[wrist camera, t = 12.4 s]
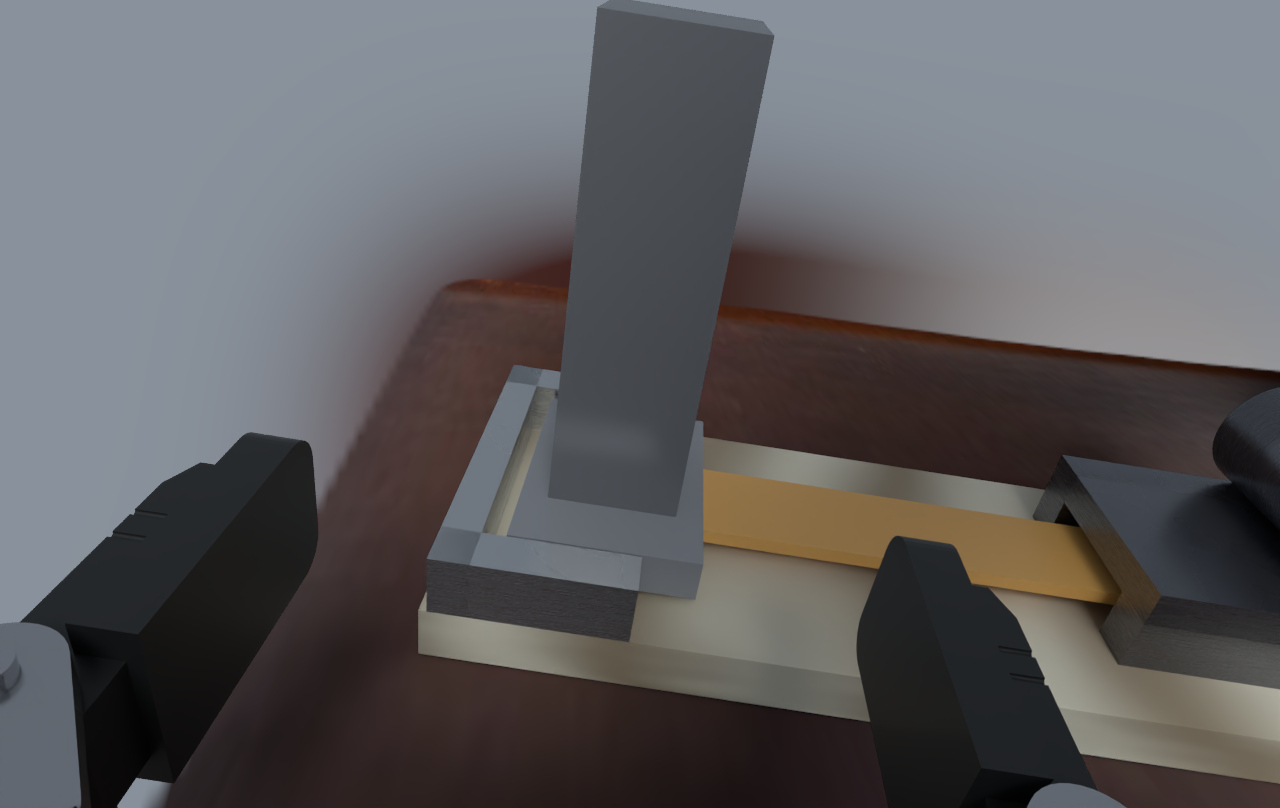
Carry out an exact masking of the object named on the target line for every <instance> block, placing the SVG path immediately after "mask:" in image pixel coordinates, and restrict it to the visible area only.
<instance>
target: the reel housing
mask: <svg viewBox="0 0 1280 808" xmlns="http://www.w3.org/2000/svg"><path fill="white" fill-rule="evenodd" d="M1213 458H1214V461H1215V464H1216V465H1217V467H1218V469H1219V470H1220V471H1221V472H1222V473H1223V474H1224V475H1225V476H1226V477H1227V478H1228V479H1229V480H1230V481H1227V480H1221V479H1215V478H1208V477H1202V476H1195V475H1189V474H1182V473H1176V472H1169V471H1163V470H1157V469H1150V468H1144V467H1137V466H1131V465H1124V464H1118V463H1111V462H1105V461H1099V460H1092V459H1086V458H1079V457H1073V456H1066V455H1062V456H1061V458H1060V460H1059V462H1058V464H1057V466H1056V469H1055V471H1054V473H1053V475H1052V477H1051V479H1050V481H1049V483H1048V485H1047V487H1046V489H1045V491H1044V493H1043V495H1042V497H1041V499H1040V501H1039V503H1038V506H1037V508H1036V510H1035V512H1034V514H1033V516H1032V517H1033V519H1034V520H1036V521H1043V522H1049V523H1056V524H1062V525H1069V526H1075V527H1081V529H1082V530H1083V532H1084V533H1085V535H1086V536H1087V538H1088V539H1089V541H1090V543H1091V544H1092V546H1093V547H1094V549H1095V550H1096V552H1097V553H1098V555H1099V556H1100V558H1101V559H1102V561H1103V562H1104V564H1105V566H1106V567H1107V569H1108V570H1109V572H1110V573H1111V575H1112V576H1113V578H1114V579H1115V581H1116V582H1117V584H1118V585H1119V587H1120V589H1121V590H1122V593H1121V595H1120V597H1119V598H1118V600H1117V602H1116V603H1115V605H1114V607H1113V608H1112V610H1111V612H1110V613H1109V615H1108V617H1107V619H1106V620H1105V622H1104V624H1103V625H1102V627H1101V629H1100V630H1099V632H1100V634H1101V636H1102V638H1103V639H1104V641H1105V643H1106V645H1107V646H1108V648H1109V650H1110V651H1111V653H1112V655H1113V657H1114V658H1115V660H1116V662H1117V664H1118V665H1123V666H1129V667H1136V668H1142V669H1149V670H1155V671H1162V672H1169V673H1175V674H1182V675H1188V676H1195V677H1201V678H1208V679H1215V680H1221V681H1228V682H1234V683H1241V684H1247V685H1254V686H1260V687H1267V688H1274V689H1280V387H1278V388H1274V389H1271V390H1268V391H1265V392H1263V393H1260V394H1258V395H1256V396H1254V397H1252V398H1250V399H1249V400H1247V401H1245V402H1244V403H1242V404H1241V405H1240V406H1238V407H1237V408H1236V409H1235V410H1234V411H1233V412H1232V413H1230V414H1229V415H1228V417H1227V418H1226V419H1225V420H1224V421H1223V423H1222V424H1221V426H1220V427H1219V429H1218V431H1217V433H1216V435H1215V438H1214V442H1213Z"/></svg>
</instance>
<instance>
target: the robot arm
mask: <svg viewBox="0 0 1280 808" xmlns="http://www.w3.org/2000/svg"><path fill="white" fill-rule="evenodd" d="M317 541H318V519H317V506H316V493H315V481H314V467H313V456H312V450H311V447H310V445H309V444H308V443H307V442H306V441H302V440H296V439H290V438H283V437H276V436H271V435H264V434H258V433H247V434H245V435H243V436H242V437H241V438H240V439H239V440H238V441H237V442H236V443H235V444H234V445H233V446H232V447H231V449H229V451H228V452H227V453H226V454H225V455H224V456H223V457H222V458H221V459H220V460H219V461H218V462H217V463H216V464H215V465H213V464H207V463H199V464H197V465H195V466H193V467H191V468H189V469H188V470H185V471H184V472H182V473H180V474H178V475H176V476H174V477H172V478H170V479H168V480H166V481H164V482H163V483H161V484H160V485H159V486H158V487H157V488H156V489H155V490H154V491H153V492H152V493H151V494H150V495H149V496H148V497H147V498H146V499H145V500H144V501H143V502H142V503H141V504H140V505H139V506H138V507H137V508H136V509H135V513H134V515H131V514H130V515H129V516H128V517H127V518H126V519H125V520H124V521H123V522H122V523H121V524H120V525H119V526H118V527H116V528H115V529H114V530H113V535H112V537H106V538H105V539H104V540H103V541H102V542H101V543H100V544H99V545H98V546H97V547H96V548H95V549H94V550H93V551H92V552H91V553H90V554H89V555H88V556H87V557H86V558H85V559H84V560H83V561H82V562H81V563H80V564H79V565H78V566H77V567H76V568H75V569H74V570H73V571H72V572H71V573H70V574H69V575H68V576H67V577H66V578H65V579H64V580H63V581H61V582H60V583H59V584H58V585H57V586H56V587H55V588H54V589H53V590H52V591H51V593H49V594H48V595H47V596H46V597H45V598H44V599H43V600H42V601H41V602H40V603H39V604H38V605H37V606H36V607H35V608H34V609H33V610H32V611H31V612H30V613H29V614H28V615H27V616H26V617H25V618H24V619H23V620H22V621H21V622H19V623H6V624H0V808H118V807H117V805H118V804H119V802H120V801H121V799H122V798H123V796H124V795H125V793H126V792H127V790H128V789H129V787H130V786H131V785H132V783H133V781H134V780H135V779H136V778H142V779H148V780H154V781H161V782H167V783H174V782H175V781H176V779H177V778H178V776H179V775H180V773H181V771H182V770H183V768H184V767H185V765H186V764H187V762H188V761H189V759H190V757H191V756H192V754H193V753H194V751H195V750H196V748H197V746H198V745H199V743H200V742H201V740H202V739H203V737H204V735H205V734H206V732H207V731H208V729H209V728H210V726H211V724H212V723H213V721H214V720H215V718H216V717H217V715H218V713H219V712H220V710H221V709H222V707H223V706H224V704H225V702H226V701H227V699H228V698H229V696H230V695H231V693H232V691H233V690H234V688H235V687H236V685H237V684H238V682H239V680H240V679H241V677H242V676H243V674H244V673H245V671H246V669H247V668H248V666H249V665H250V663H251V662H252V660H253V658H254V657H255V655H256V654H257V652H258V651H259V649H260V647H261V646H262V644H263V643H264V641H265V640H266V638H267V636H268V635H269V633H270V632H271V630H272V629H273V627H274V625H275V624H276V622H277V621H278V619H279V618H280V616H281V614H282V613H283V611H284V610H285V608H286V607H287V605H288V603H289V602H290V600H291V599H292V597H293V596H294V594H295V592H296V591H297V589H298V588H299V586H300V585H301V583H302V582H303V580H304V578H305V577H306V575H307V573H308V571H309V569H310V567H311V564H312V562H313V559H314V556H315V552H316V547H317ZM856 652H857V662H858V667H859V672H860V677H861V681H862V686H863V691H864V695H865V700H866V704H867V709H868V714H869V718H870V723H871V728H872V732H873V737H874V742H875V746H876V751H877V756H878V760H879V765H880V770H881V774H882V779H883V784H884V788H885V793H886V797H887V802H888V807H889V808H1126V807H1125V806H1123V805H1122V804H1120V803H1119V802H1117V801H1116V800H1114V799H1112V798H1110V797H1109V796H1107V795H1105V794H1103V793H1101V792H1098V790H1097V788H1096V786H1095V784H1094V782H1093V780H1092V778H1091V775H1090V773H1089V771H1088V769H1087V767H1086V765H1085V763H1084V761H1083V758H1082V756H1081V754H1080V752H1079V750H1078V748H1077V746H1076V743H1075V741H1074V739H1073V737H1072V735H1071V733H1070V731H1069V728H1068V726H1067V724H1066V722H1065V720H1064V718H1063V716H1062V714H1061V711H1060V709H1059V707H1058V705H1057V703H1056V701H1055V699H1054V696H1053V694H1052V692H1051V690H1050V688H1049V686H1048V685H1045V683H1044V680H1045V677H1044V675H1043V673H1042V671H1041V669H1040V666H1039V664H1038V662H1037V660H1036V658H1035V657H1032V649H1031V647H1030V645H1029V643H1028V641H1027V639H1026V637H1025V634H1024V632H1023V630H1022V628H1021V626H1020V624H1019V622H1018V619H1017V618H1016V617H1015V616H1014V615H1013V613H1012V612H1011V611H1010V610H1009V609H1008V608H1007V607H1006V606H1005V605H1004V604H1003V603H1002V602H1001V601H1000V600H999V598H998V597H997V596H996V595H995V594H994V593H993V592H992V591H991V590H990V589H989V588H988V587H981V586H975V585H972V584H971V581H970V579H969V577H968V574H967V572H966V569H965V567H964V565H963V562H962V560H961V558H960V555H959V553H958V551H957V549H956V548H955V546H953V545H952V544H948V543H942V542H936V541H929V540H923V539H916V538H910V537H904V536H895V537H893V538H892V540H891V541H890V543H889V544H888V547H887V549H886V551H885V554H884V557H883V559H882V562H881V565H880V567H879V570H878V572H877V575H876V578H875V580H874V583H873V585H872V588H871V591H870V593H869V596H868V599H867V601H866V604H865V606H864V609H863V612H862V614H861V617H860V621H859V626H858V632H857V642H856Z"/></svg>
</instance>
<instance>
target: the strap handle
mask: <svg viewBox="0 0 1280 808" xmlns="http://www.w3.org/2000/svg"><path fill="white" fill-rule="evenodd" d="M773 40H774V35H773V33H772V32H771V31H770V30H769V29H768V27H767V26H766V25H765V24H764V22H763V21H758V20H751V19H746V18H739V17H733V16H727V15H721V14H714V13H707V12H702V11H696V10H689V9H683V8H677V7H671V6H664V5H658V4H651V3H646V2H640V1H633V0H609V1H607V2H606V3H604V4H602V5H601V6H599V7H598V8H597V17H596V26H595V36H594V46H593V56H592V66H591V76H590V86H589V96H588V107H587V116H586V125H585V135H584V145H583V155H582V165H581V175H580V185H579V195H578V205H577V215H576V225H575V236H574V244H573V254H572V264H571V275H570V284H569V294H568V304H567V313H566V323H565V333H564V343H563V353H562V363H561V373H560V383H559V393H558V399H553V398H552V400H551V403H550V406H549V409H548V412H547V415H546V418H545V421H544V424H543V427H542V430H541V433H540V436H539V439H538V442H537V445H536V448H535V451H534V454H533V457H532V460H531V463H530V466H529V469H528V472H527V475H526V478H525V481H524V484H523V487H522V490H521V493H520V496H519V499H518V502H517V505H516V508H515V511H514V514H513V517H512V520H511V523H510V526H509V529H508V532H507V537H514V538H520V539H527V540H533V541H540V542H547V543H553V544H560V545H566V546H573V547H579V548H586V549H592V550H599V551H605V552H612V553H618V554H625V555H632V556H638V557H642V562H641V573H640V583H639V591H641V592H648V593H654V594H661V595H667V596H674V597H681V598H687V599H694V600H695V599H696V594H697V590H698V586H699V582H700V577H701V573H702V569H703V542H706V543H713V544H719V545H726V546H732V547H739V548H746V549H752V550H759V551H765V552H772V553H778V554H785V555H791V556H798V557H804V558H811V559H817V560H824V561H830V562H837V563H843V564H850V565H856V566H863V567H869V568H876V569H879V567H880V565H881V562H882V559H883V557H884V554H885V551H886V549H887V547H888V544H889V543H890V541H891V540H892V538H893V537H895V536H904V537H910V538H916V539H923V540H929V541H936V542H942V543H948V544H952V545H953V546H955V548H956V549H957V551H958V553H959V555H960V558H961V560H962V562H963V565H964V567H965V569H966V572H967V574H968V577H969V579H970V581H971V583H974V584H980V585H987V586H993V587H1000V588H1007V589H1013V590H1020V591H1026V592H1033V593H1039V594H1046V595H1052V596H1059V597H1065V598H1072V599H1078V600H1085V601H1091V602H1098V603H1104V604H1111V605H1115V603H1116V602H1117V600H1118V598H1119V597H1120V595H1121V593H1122V590H1121V589H1120V587H1119V585H1118V584H1117V582H1116V581H1115V579H1114V578H1113V576H1112V575H1111V573H1110V572H1109V570H1108V569H1107V567H1106V566H1105V564H1104V562H1103V561H1102V559H1101V558H1100V556H1099V555H1098V553H1097V552H1096V550H1095V549H1094V547H1093V546H1092V544H1091V543H1090V541H1089V539H1088V538H1087V536H1086V535H1085V533H1084V532H1083V530H1082V529H1081V527H1075V526H1069V525H1062V524H1056V523H1049V522H1043V521H1036V520H1030V519H1023V518H1017V517H1010V516H1004V515H997V514H991V513H984V512H978V511H971V510H965V509H958V508H952V507H945V506H939V505H932V504H926V503H919V502H913V501H907V500H900V499H894V498H887V497H881V496H874V495H868V494H861V493H855V492H848V491H842V490H835V489H829V488H822V487H816V486H809V485H803V484H796V483H790V482H783V481H777V480H770V479H764V478H757V477H751V476H744V475H738V474H731V473H725V472H718V471H712V470H706V469H703V422H702V421H696V417H697V412H698V407H699V402H700V397H701V392H702V387H703V383H704V378H705V373H706V368H707V363H708V358H709V353H710V348H711V343H712V339H713V334H714V329H715V324H716V319H717V314H718V309H719V304H720V299H721V294H722V290H723V284H724V280H725V275H726V270H727V265H728V260H729V255H730V250H731V245H732V240H733V236H734V231H735V226H736V221H737V216H738V211H739V206H740V201H741V197H742V192H743V187H744V181H745V177H746V172H747V167H748V162H749V157H750V152H751V147H752V143H753V138H754V132H755V128H756V123H757V118H758V113H759V108H760V103H761V98H762V94H763V89H764V84H765V79H766V74H767V69H768V64H769V59H770V54H771V49H772V45H773Z"/></svg>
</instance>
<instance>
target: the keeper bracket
mask: <svg viewBox="0 0 1280 808" xmlns="http://www.w3.org/2000/svg"><path fill="white" fill-rule="evenodd" d="M560 373H561V372H557V371H551V370H544V369H538V368H532V367H525V366H519V365H514V366H513V368H512V371H511V373H510V375H509V377H508V379H507V382H506V384H505V386H504V388H503V391H502V393H501V395H500V397H499V399H498V402H497V404H496V406H495V408H494V411H493V413H492V415H491V417H490V419H489V422H488V424H487V426H486V428H485V430H484V433H483V435H482V437H481V439H480V442H479V444H478V446H477V448H476V450H475V453H474V455H473V457H472V459H471V462H470V464H469V466H468V468H467V470H466V473H465V475H464V477H463V479H462V482H461V484H460V486H459V488H458V490H457V493H456V495H455V497H454V499H453V502H452V504H451V506H450V508H449V510H448V513H447V515H446V517H445V519H444V522H443V524H442V526H441V528H440V530H439V533H438V535H437V537H436V539H435V542H434V544H433V546H432V548H431V550H430V553H429V555H428V557H427V598H426V612H432V613H439V614H445V615H452V616H459V617H465V618H472V619H478V620H485V621H491V622H498V623H505V624H511V625H518V626H524V627H531V628H538V629H544V630H551V631H557V632H564V633H571V634H577V635H584V636H590V637H597V638H603V639H610V640H617V641H623V642H629V640H630V635H631V630H632V624H633V619H634V614H635V608H636V603H637V597H638V592H639V583H640V573H641V562H642V557H638V556H632V555H625V554H618V553H612V552H605V551H599V550H592V549H586V548H579V547H573V546H566V545H560V544H553V543H547V542H540V541H533V540H527V539H520V538H514V537H507V536H501V535H496V534H497V531H498V528H499V525H500V522H501V520H502V517H503V514H504V511H505V508H506V505H507V502H508V500H509V497H510V494H511V491H512V488H513V485H514V482H515V480H516V477H517V474H518V471H519V468H520V465H521V463H522V460H523V457H524V454H525V451H526V448H527V445H528V443H529V440H530V437H531V434H532V431H533V430H540V431H541V430H542V427H543V424H544V421H545V418H546V415H547V412H548V409H549V406H550V403H551V400H552V398H553V399H558V393H559V383H560Z"/></svg>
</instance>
